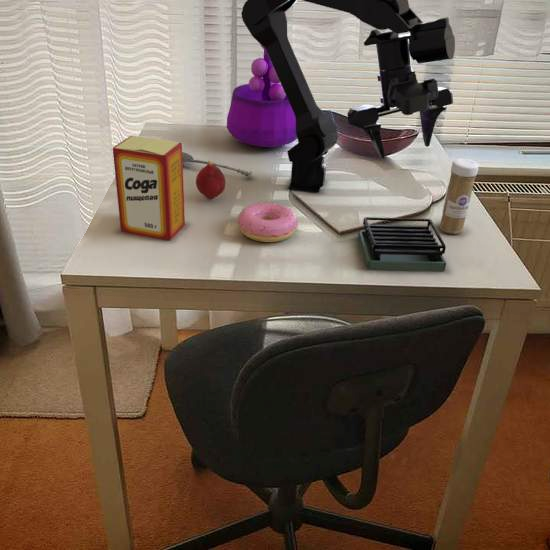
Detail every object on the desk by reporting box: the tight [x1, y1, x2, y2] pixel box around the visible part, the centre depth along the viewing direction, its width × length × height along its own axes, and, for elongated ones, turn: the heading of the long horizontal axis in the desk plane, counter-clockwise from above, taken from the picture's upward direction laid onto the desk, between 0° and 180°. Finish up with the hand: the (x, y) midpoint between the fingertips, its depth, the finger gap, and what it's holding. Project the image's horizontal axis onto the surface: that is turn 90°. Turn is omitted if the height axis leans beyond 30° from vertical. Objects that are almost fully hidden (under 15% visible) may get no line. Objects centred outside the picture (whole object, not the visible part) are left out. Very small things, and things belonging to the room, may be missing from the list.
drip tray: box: [357, 229, 447, 272], centre depth 106 cm, size 13×11×2 cm
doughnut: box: [236, 201, 299, 243], centre depth 110 cm, size 11×11×4 cm
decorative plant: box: [226, 43, 298, 148], centre depth 143 cm, size 19×18×30 cm
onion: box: [195, 160, 227, 201], centre depth 119 cm, size 6×6×8 cm
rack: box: [362, 216, 447, 262], centre depth 105 cm, size 12×10×4 cm
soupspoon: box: [182, 151, 253, 180], centre depth 134 cm, size 22×3×7 cm
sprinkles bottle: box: [438, 158, 480, 235], centre depth 111 cm, size 5×5×13 cm
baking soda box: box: [112, 135, 186, 241], centre depth 106 cm, size 10×6×16 cm
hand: (404, 152), depth 116 cm, fingers open, 9 cm apart
